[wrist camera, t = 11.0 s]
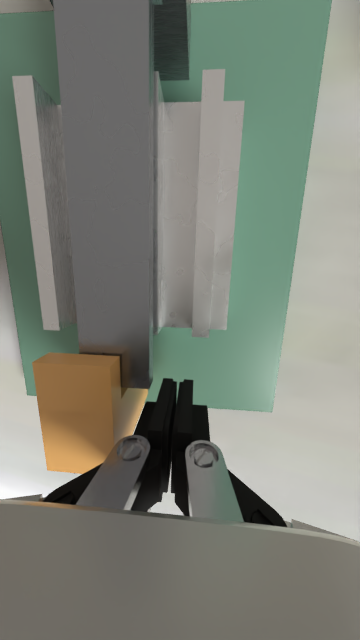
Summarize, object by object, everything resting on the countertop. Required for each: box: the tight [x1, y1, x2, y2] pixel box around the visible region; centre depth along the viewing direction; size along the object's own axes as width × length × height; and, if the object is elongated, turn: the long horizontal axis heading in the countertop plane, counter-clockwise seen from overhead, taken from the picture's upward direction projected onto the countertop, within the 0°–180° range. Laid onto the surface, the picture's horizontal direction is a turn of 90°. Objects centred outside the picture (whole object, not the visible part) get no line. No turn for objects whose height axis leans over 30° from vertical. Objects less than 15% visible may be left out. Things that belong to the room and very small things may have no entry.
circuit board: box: [0, 0, 332, 412], centre depth 14 cm, size 18×22×2 cm
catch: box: [32, 352, 148, 474], centre depth 12 cm, size 3×5×6 cm, turn 179°
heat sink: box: [12, 0, 245, 338], centre depth 10 cm, size 10×15×4 cm, turn 178°
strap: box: [51, 0, 164, 389], centre depth 8 cm, size 15×4×1 cm, turn 178°
